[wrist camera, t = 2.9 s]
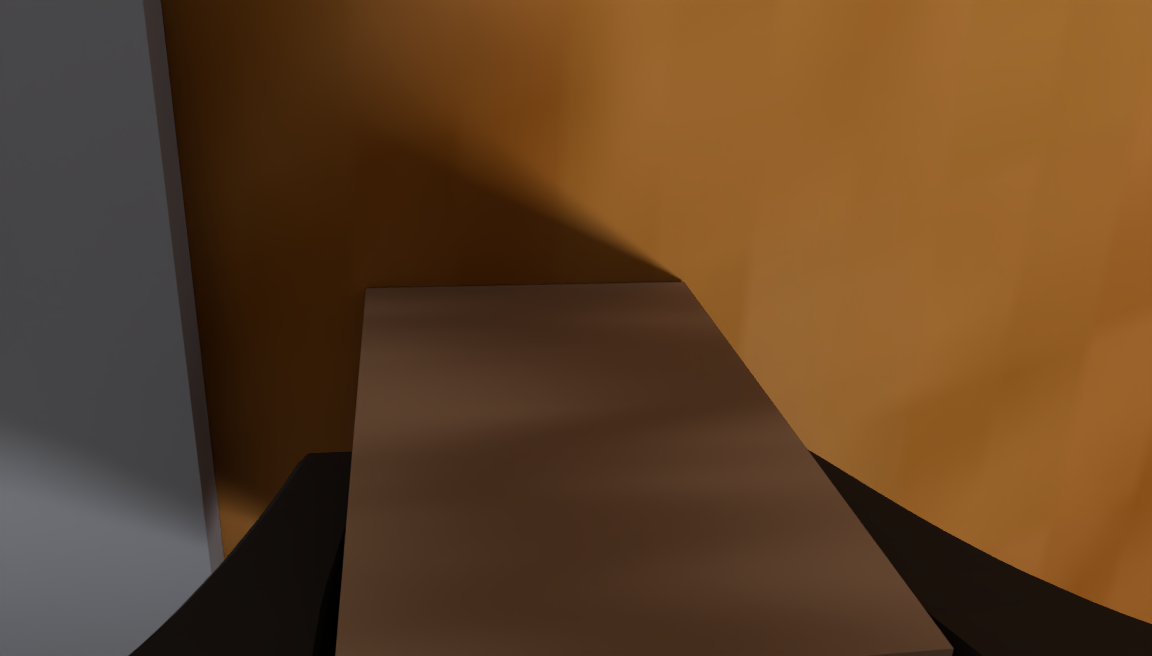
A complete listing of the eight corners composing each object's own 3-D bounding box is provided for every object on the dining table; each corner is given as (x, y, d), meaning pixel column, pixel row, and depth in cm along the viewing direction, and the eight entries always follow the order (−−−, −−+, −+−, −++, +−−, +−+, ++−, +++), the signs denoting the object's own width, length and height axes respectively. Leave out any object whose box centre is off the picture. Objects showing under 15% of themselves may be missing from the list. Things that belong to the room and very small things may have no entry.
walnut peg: (683, 281, 13) (953, 648, 7) (661, 544, 15) (865, 1044, 8) (365, 287, 12) (331, 699, 6) (377, 561, 14) (360, 1118, 8)
